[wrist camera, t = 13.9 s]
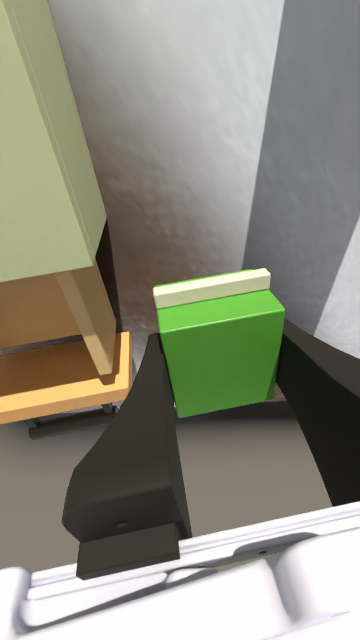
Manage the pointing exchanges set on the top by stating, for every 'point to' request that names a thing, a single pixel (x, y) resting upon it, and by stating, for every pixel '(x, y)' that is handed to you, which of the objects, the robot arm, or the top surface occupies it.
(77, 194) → the cabinet
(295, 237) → the top surface
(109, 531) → the robot arm
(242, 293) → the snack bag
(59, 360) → the drawer
